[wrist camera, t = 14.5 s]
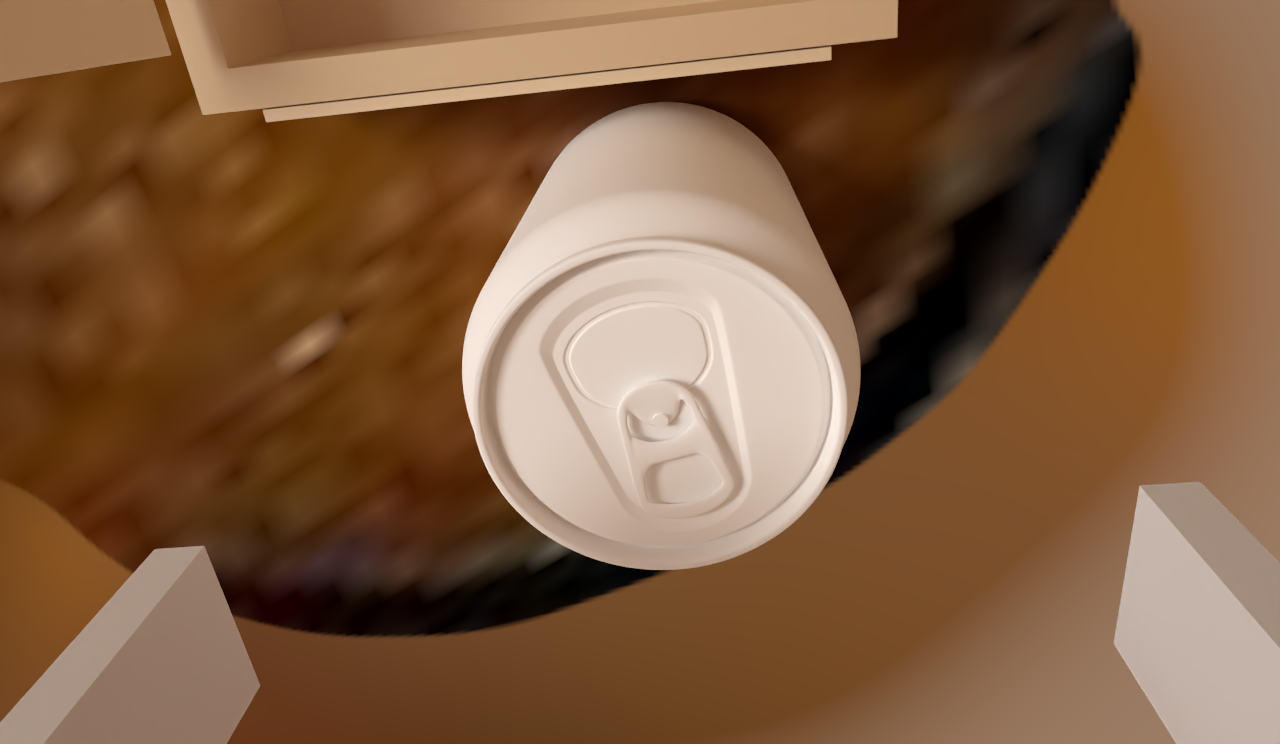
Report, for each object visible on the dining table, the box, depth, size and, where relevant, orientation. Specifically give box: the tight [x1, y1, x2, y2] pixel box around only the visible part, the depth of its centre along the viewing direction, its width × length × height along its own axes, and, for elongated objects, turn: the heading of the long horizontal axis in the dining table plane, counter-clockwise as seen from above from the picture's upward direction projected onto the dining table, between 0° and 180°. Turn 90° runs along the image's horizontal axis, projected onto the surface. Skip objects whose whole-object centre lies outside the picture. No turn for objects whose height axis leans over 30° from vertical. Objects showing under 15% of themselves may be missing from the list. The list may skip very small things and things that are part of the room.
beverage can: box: [462, 102, 861, 570], centre depth 22 cm, size 8×8×12 cm
